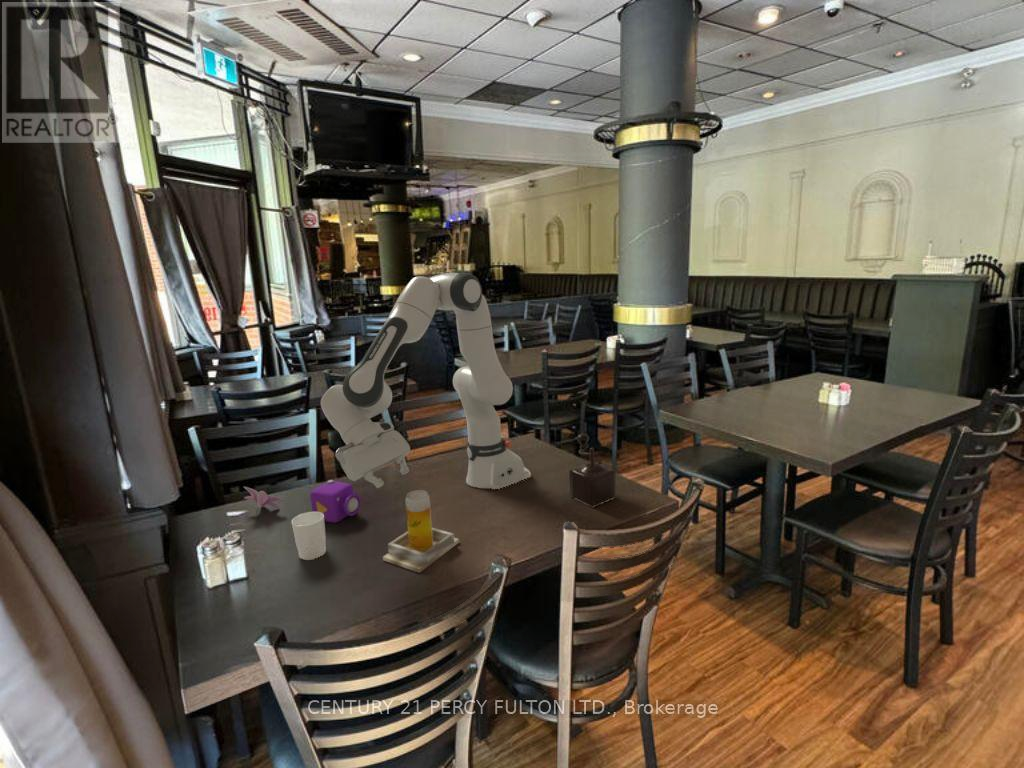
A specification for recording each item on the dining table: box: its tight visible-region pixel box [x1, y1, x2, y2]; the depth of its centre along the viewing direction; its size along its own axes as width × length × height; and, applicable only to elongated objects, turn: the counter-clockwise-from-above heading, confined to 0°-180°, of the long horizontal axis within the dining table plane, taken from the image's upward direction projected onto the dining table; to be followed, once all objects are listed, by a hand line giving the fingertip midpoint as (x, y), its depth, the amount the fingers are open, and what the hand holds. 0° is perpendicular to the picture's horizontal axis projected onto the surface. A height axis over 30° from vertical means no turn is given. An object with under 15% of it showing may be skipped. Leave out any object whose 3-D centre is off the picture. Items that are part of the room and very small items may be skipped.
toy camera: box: [309, 479, 361, 524], centre depth 156 cm, size 11×14×10 cm
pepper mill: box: [568, 433, 617, 506], centre depth 163 cm, size 16×11×18 cm
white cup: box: [291, 511, 327, 561], centre depth 136 cm, size 8×8×10 cm
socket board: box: [382, 527, 460, 574], centre depth 136 cm, size 12×16×4 cm
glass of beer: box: [404, 489, 433, 553], centre depth 134 cm, size 6×6×15 cm
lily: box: [243, 486, 284, 521], centre depth 160 cm, size 12×12×10 cm
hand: (394, 479), depth 136 cm, fingers open, 8 cm apart
